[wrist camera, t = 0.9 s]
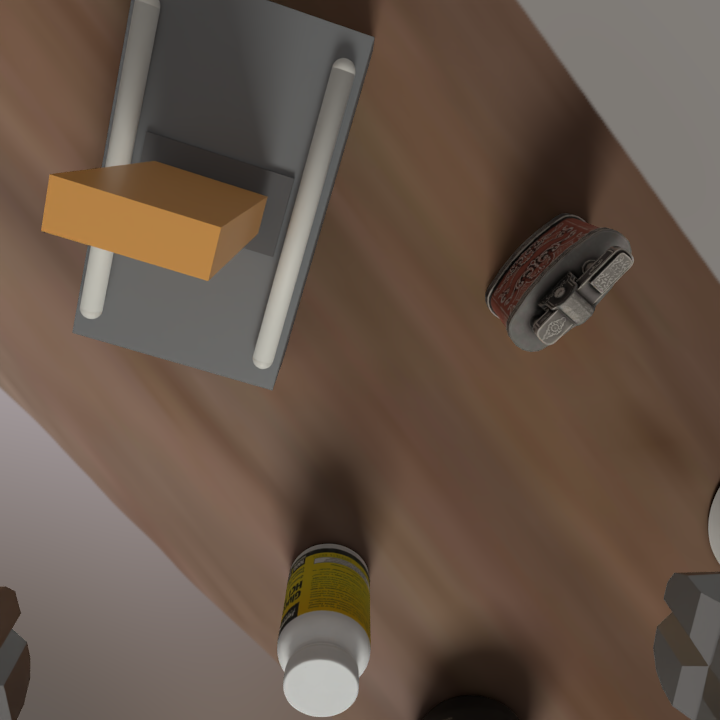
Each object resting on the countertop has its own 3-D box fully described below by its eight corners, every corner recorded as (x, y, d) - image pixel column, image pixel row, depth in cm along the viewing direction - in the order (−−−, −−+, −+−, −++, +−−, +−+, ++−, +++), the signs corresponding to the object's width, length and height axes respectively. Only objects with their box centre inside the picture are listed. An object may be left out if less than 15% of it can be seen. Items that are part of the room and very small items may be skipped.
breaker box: (372, 51, 39) (375, 34, 32) (283, 357, 45) (269, 397, 38) (172, -18, 38) (131, -51, 31) (109, 307, 44) (63, 338, 37)
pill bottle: (292, 536, 50) (274, 643, 39) (374, 544, 50) (377, 653, 39) (286, 603, 52) (266, 722, 41) (364, 611, 52) (364, 731, 41)
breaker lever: (267, 196, 34) (221, 227, 23) (258, 233, 35) (208, 280, 24) (154, 160, 34) (50, 174, 22) (147, 198, 34) (41, 230, 23)
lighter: (509, 327, 44) (549, 380, 35) (473, 295, 44) (504, 340, 34) (598, 236, 42) (666, 265, 33) (561, 201, 42) (621, 220, 32)
